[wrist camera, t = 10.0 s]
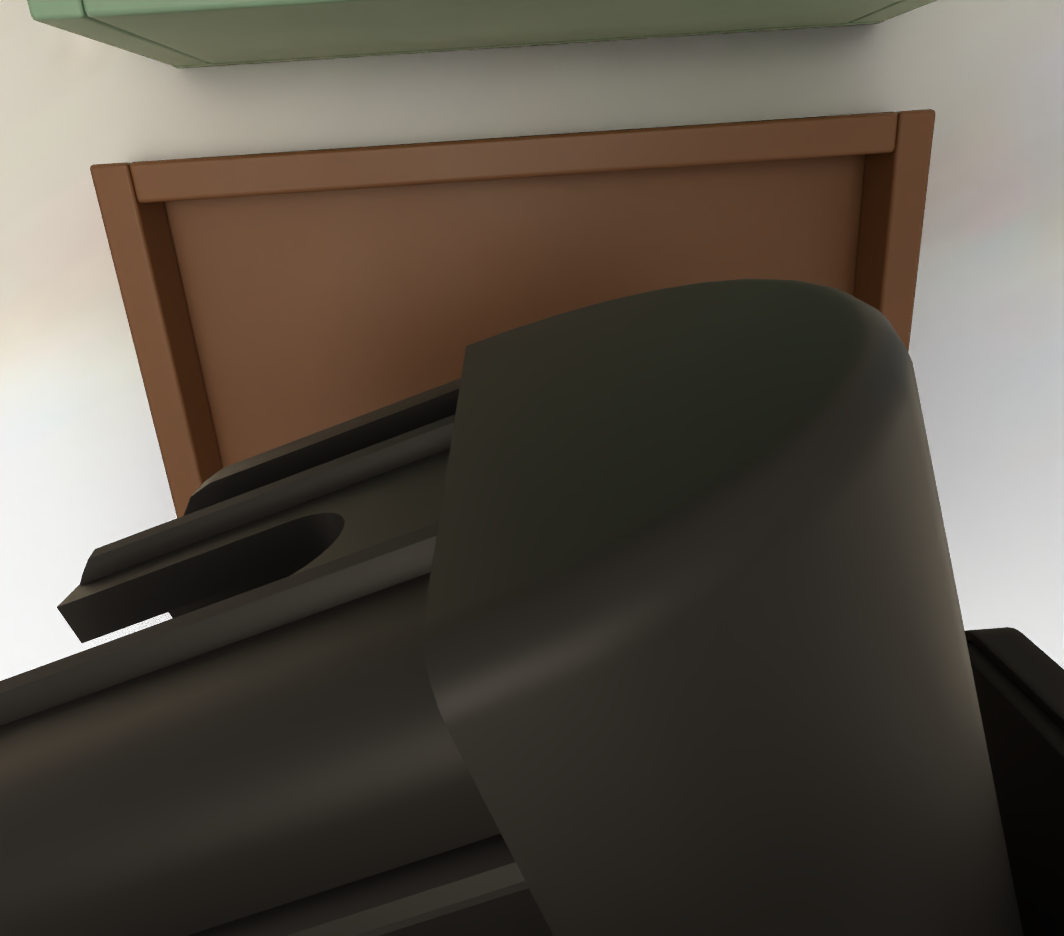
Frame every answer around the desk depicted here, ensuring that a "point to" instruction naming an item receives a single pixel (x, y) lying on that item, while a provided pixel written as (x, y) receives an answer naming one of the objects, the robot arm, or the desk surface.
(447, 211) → the tray
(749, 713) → the end cap
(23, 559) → the desk surface
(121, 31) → the tote
